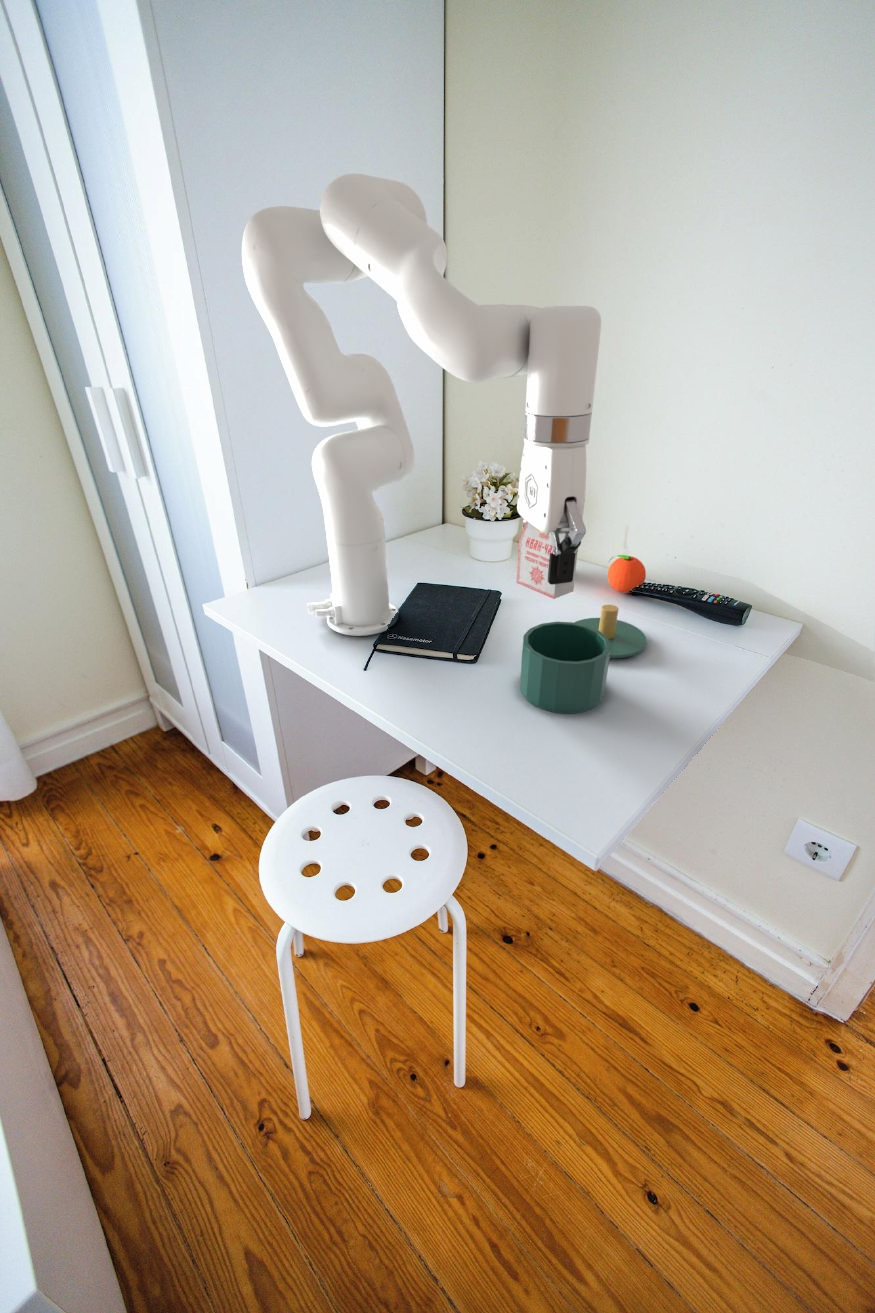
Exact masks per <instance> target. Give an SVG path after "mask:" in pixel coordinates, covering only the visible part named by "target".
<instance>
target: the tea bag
mask: <svg viewBox="0 0 875 1313" xmlns="http://www.w3.org/2000/svg"><path fill="white" fill-rule="evenodd" d="M568 526H569V525H568V522H567V523H566V524H559V525H558V527H557V528H561V527H568ZM565 537H568V533H567V534H559V539H560V543H561V542H562V540H563V539H564V538H565ZM550 553H553V547H552V541H551V534H550V533H548V534H544V533H542V532H541V531H539V530H538V529H537V528H535V527H534V526H533V525H531V524H530V523H529V522H528V521H526V523H525V526H524V528H523V527H522V531H521V534H520V537H519V539H518V552H517V567H516V583H517V584H518V585H521V586H523V587H524V588H528V589H529V590H532V591H535V592H537V593H538V594H542V595H544V596H546V597H548V598H551V599H552V600H556V599H558V598H560V597H563V596H566V595H568V594H570V593H573V592H574V588H575V580H576V570H577V569H576V568H577V560H578V552H577V553H576V554H575V564H574V574H573V580H572V582H568V583H561V584H553V585H551V584H549V583H548V569H549V557H550Z"/></svg>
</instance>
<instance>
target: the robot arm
mask: <svg viewBox="0 0 875 1313" xmlns="http://www.w3.org/2000/svg"><path fill="white" fill-rule="evenodd" d="M427 222H428V221H427V213H426V209H425V207H424V204H423V202H422V200H421V198H420V196H419V195H418V194H417V192H416V191H415V190H414V189H412V187H410V186H409V185H407V184H406V183H404V182H401V181H397V180H392V179H389V178H382V177H377V176H372V175H368V174H363V173H362V174H361V173H347V174H343V175H340V176H338V177H337V178H335V179H333V180H332V181H331V182H330V183H329V184H328V185H327V186H326V188H325V189H324V192H323V193H322V196H321V199H320V204H319V209H313V208H306V207H298V206H287V205H277V206H269V207H265V208H262V209H261V210H259V211H257V212H255V213H254V214H253V215H252V216H250V217H249V220H248V221H247V222H246V225H245V228H244V230H243V233H242V234H243V235H242V242H241V260H242V262H241V263H242V269H243V274H244V278H245V282H246V285H247V288H248V291H249V293H250V295H251V298H252V300H253V302H254V304H255V306H256V308H257V310H258V311H259V313H260V315H261V317H262V319H263V321H264V323H265V324H266V326H267V328H268V330H269V332H270V334H271V336H272V338H273V341H274V344H275V346H276V350H277V352H278V355H279V358H280V361H281V363H282V365H283V368H284V371H285V373H286V376H287V378H288V381H289V384H290V387H291V390H292V392H293V395H294V397H295V400H296V402H297V405H298V407H299V409H300V412H301V413H302V416H303V417H304V418H305V420H306V422H308V423H310V424H311V425H313V426H316V427H322V428H323V427H326V428H327V427H334V426H339V425H344V424H348V423H354V422H355V423H356V425H357V429H352V430H348V431H343V432H339V433H335V434H332V435H331V436H328V437H326V438H325V439H323V440H322V441H321V442H320V443H319V444H318V445H317V446H316V448H315V449H314V451H313V454H312V458H311V470H312V475H313V479H314V481H315V485H316V488H317V491H318V494H319V497H320V502H321V506H322V511H323V518H324V524H325V532H326V534H325V535H326V542H327V550H328V558H329V566H330V567H329V568H330V578H331V586H332V593H330V594H329V595H330V598H327V599H325V601H320V602H318V601H316V602H315V601H314V602H308V603H306V604H307V612H308V615H313V614H315V615H316V619H322V618H326V623H327V625H328V627H329V628H330V629H331V630H333V631H334V632H337V633H339V634H341V635H346V636H352V637H365V636H371V635H372V636H373V635H377V634H380V633H384V632H386V631H388V630H389V629H388V626H387V625H388V624H390V622H391V620H392V618H394V616H395V614H396V613H397V612H398V613H399V610H398V608H397V607H396V606H395V605H394V604H392V603H390V593H389V592H390V591H389V576H388V559H387V543H386V529H385V528H386V527H385V520H384V516H383V513H382V511H381V509H380V507H379V506H378V504H377V502H376V501H375V499H374V497H373V493H374V492H376V491H378V490H381V489H384V488H387V487H390V486H393V485H396V484H399V483H402V482H403V481H404V480H406V479H407V478H408V477H409V476H410V475H411V473H412V471H413V468H414V465H415V450H414V446H413V441H412V438H411V437H412V436H411V434H410V431H409V428H408V425H407V422H406V419H405V416H404V413H403V410H402V407H401V403H400V401H399V397H398V395H397V392H396V389H395V386H394V383H393V380H392V378H391V376H390V374H389V372H388V371H387V370H386V368H385V367H384V365H383V364H382V363H381V362H380V361H379V360H378V359H376V358H375V357H373V356H371V355H369V354H365V353H353V354H351V353H350V354H344V353H343V352H342V351H341V349H340V347H339V344H338V343H337V340H336V338H335V335H334V332H333V329H332V326H331V323H330V321H329V319H328V317H327V316H326V314H325V312H324V311H323V309H322V308H321V307H320V305H319V304H318V303H317V301H316V300H314V298H313V297H312V296H311V295H310V294H309V293H308V292H307V291H306V290H305V287H304V284H349V283H353V282H358V281H359V280H362V279H365V278H367V277H368V278H370V279H371V280H372V281H374V283H375V284H376V285H378V286H379V287H380V288H381V289H382V290H383V291H385V292H386V293H387V294H388V295H389V296H391V298H393V299H394V300H395V301H396V302H397V309H398V310H397V311H398V313H399V316H400V319H401V321H402V324H403V326H404V329H405V330H406V332H407V334H408V336H409V337H410V338H411V340H412V341H413V342H414V344H415V345H416V346H417V347H418V348H419V349H421V351H423V353H425V354H426V355H427V356H428V357H429V358H431V360H432V361H434V362H435V363H436V364H437V365H439V366H440V367H441V368H442V369H443V370H445V371H446V372H448V373H449V374H450V375H452V376H453V377H455V378H457V379H459V380H462V381H464V382H467V383H475V384H477V383H485V382H489V381H490V382H491V381H494V380H501V379H509V378H515V377H520V376H527V378H526V392H525V393H526V396H525V415H524V416H525V417H524V418H525V419H524V434H523V435H524V436H523V443H524V444H523V449H522V455H521V462H520V468H519V479H518V488H517V489H518V490H517V500H516V501H517V502H516V510H517V513H518V514H519V516H520V517H521V518H522V519H523V521H522V529H523V528H524V526H525V523H526V521H528V522H529V523H530V524H531V525H533V526H534V527H535V528H537V529H538V530H539V531H541V532H542V533H544V534H548V533H550V534H551V541H552V547H553V553H550V557H549V569H548V583H549V584H551V585H553V584H561V583H568V582H572V580H573V574H574V564H575V554H576V553H577V554H578V553H579V547H580V546H581V544H582V540H583V539H584V538H585V535H586V533H587V529H586V525H585V523H584V520H583V519H584V513H585V512H584V511H585V502H586V489H587V485H586V484H587V445H588V444H589V443H590V436H591V427H592V418H593V407H594V400H595V399H594V398H595V389H596V380H597V379H596V378H597V369H598V361H599V350H600V349H599V348H600V340H601V330H602V317H601V314H600V311H599V310H598V309H597V308H595V307H594V306H589V305H556V306H555V305H553V306H544V307H539V306H532V305H527V304H526V305H525V304H505V303H504V304H501V303H500V304H477V303H476V302H474V301H473V300H471V299H470V298H468V297H467V296H466V295H465V294H464V293H462V292H461V291H460V290H459V289H457V288H456V287H455V286H454V285H453V284H451V283H450V282H449V281H448V280H447V279H446V278H445V277H444V276H445V275H444V274H445V271H446V269H447V268H446V267H447V263H448V250H447V245H446V243H445V240H444V239H443V237H442V236H441V235H440V233H438V232H436V230H434V229H433V228H432V227H431V226H429V225H428V224H427ZM567 522H568V525H569V526H568V527H561V528H557V527H558V525H559V524H566V523H567ZM567 533H568V537H565V538H564V539H563V540H562V542H561V543H560V539H559V534H567ZM387 629H388V630H387Z"/></svg>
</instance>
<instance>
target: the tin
mask: <svg viewBox="0 0 875 1313" xmlns="http://www.w3.org/2000/svg"><path fill="white" fill-rule="evenodd" d="M610 653H611V645H610V641H609V639H608V638H607V637H606V636H605V635H604V634H602V633H601V632H600V631H598V630H596V629H594V628H591V627H589V626H586V625H582V624H577V623H574V622H571V621H551V622H544V623H540V624H537V625H535V626H532V627H530V628H529V629H528V630H527V631H526V632H525V633H524V634H523V636H522V649H521V664H520V678H519V690H520V693H521V695H522V696H523V698H524V699H525V700H526V701H527V702H528V703H530V704H531V705H533V706H535V707H537V708H538V709H541V710H544V711H547V712H550V713H557V714H564V715H565V714H580V713H584V712H588V711H590V710H592V709H594V708H596V707H597V706H598V705H599V704H600V703H601V702H602V700H603V697H604V695H605V690H606V685H607V684H606V683H607V678H608V677H607V676H608V670H609V666H610V665H609V664H610V659H611V658H610Z"/></svg>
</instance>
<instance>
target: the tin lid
mask: <svg viewBox="0 0 875 1313" xmlns="http://www.w3.org/2000/svg"><path fill="white" fill-rule="evenodd" d="M600 610H601V611H600V617H588V618H583V619H579V620H576V621H574V622H573V623H577V624H582V625H586V626H589V627H591V628H594V629H596V630H598V631H600V632H601V633H602V634H604V635H605V636H606V637H607V638H608V639H609V641H610V645H611V653H610V659H621V658H622V659H623V658H629V657H632V656H636V655H638V654H640V653H641V652H642V651H644V650H645V648H646V646H647V642H648V639H647V636H646V635H645V633H644V632H643V631H642V630H641V629H640V628H638V627H636V626H635V625H634V624H631V623H628V622H626V621H623V620H620V619H618V615H619V607H618V606H616V605H613V604H604V605H602V606H601V609H600Z"/></svg>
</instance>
